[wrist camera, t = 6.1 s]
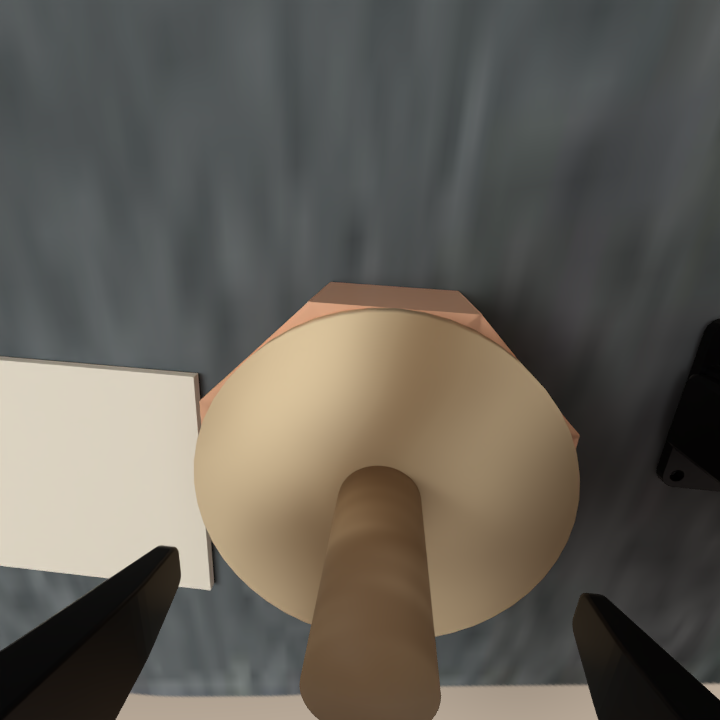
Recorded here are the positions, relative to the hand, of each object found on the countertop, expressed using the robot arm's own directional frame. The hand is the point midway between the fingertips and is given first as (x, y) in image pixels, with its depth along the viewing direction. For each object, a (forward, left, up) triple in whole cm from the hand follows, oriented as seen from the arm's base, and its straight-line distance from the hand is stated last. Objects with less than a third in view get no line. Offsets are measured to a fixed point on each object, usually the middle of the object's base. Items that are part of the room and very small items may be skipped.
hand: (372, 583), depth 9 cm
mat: (+13, +4, -8) cm, 16 cm away
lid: (0, 0, -4) cm, 4 cm away
